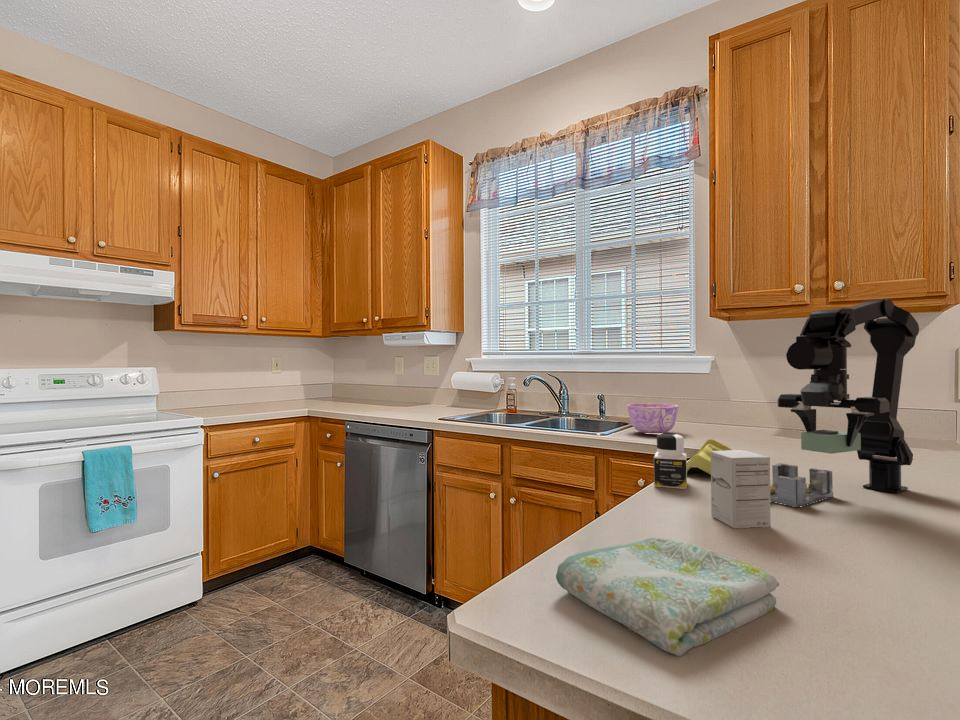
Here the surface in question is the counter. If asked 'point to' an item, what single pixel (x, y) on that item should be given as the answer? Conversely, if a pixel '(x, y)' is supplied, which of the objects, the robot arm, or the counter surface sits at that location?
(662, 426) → the purple round bowl
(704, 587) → the towel
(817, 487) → the chassis
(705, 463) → the plastic component
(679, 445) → the medicine bottle
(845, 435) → the green block
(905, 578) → the counter surface
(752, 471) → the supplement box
